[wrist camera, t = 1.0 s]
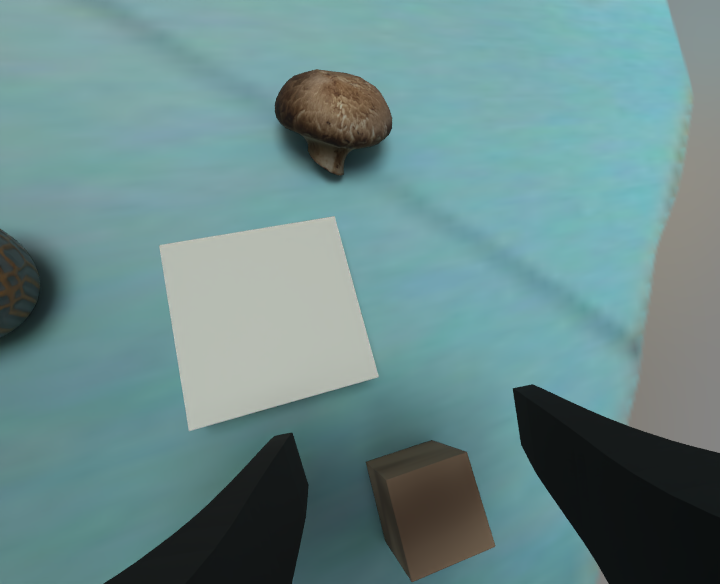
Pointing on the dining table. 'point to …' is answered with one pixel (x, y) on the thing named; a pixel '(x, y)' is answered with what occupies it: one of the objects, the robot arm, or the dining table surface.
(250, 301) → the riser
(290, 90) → the mushroom
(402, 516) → the walnut block
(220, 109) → the dining table surface
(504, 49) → the dining table surface
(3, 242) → the vase
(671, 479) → the robot arm
